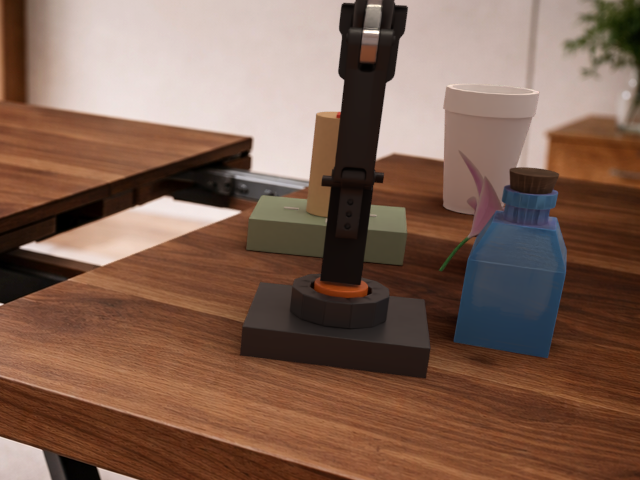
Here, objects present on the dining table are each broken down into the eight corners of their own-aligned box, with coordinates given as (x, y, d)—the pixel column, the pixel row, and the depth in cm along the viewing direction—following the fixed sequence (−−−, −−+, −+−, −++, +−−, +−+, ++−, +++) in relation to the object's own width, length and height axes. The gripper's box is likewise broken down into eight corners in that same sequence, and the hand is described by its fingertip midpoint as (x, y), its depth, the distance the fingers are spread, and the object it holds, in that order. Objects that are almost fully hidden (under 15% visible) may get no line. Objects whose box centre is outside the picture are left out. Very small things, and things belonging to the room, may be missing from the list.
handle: (308, 204, 92) (318, 107, 89) (354, 209, 91) (366, 110, 88) (304, 215, 88) (314, 113, 85) (352, 219, 87) (365, 116, 84)
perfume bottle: (453, 343, 67) (482, 174, 63) (462, 316, 73) (489, 159, 68) (547, 359, 65) (584, 185, 61) (549, 330, 70) (583, 169, 66)
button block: (420, 327, 70) (428, 275, 69) (425, 380, 61) (435, 321, 60) (257, 309, 73) (262, 258, 71) (239, 357, 64) (244, 300, 62)
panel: (400, 237, 94) (405, 205, 93) (402, 265, 85) (407, 231, 84) (259, 224, 97) (261, 193, 96) (246, 250, 88) (248, 216, 87)
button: (365, 301, 67) (368, 278, 66) (364, 318, 64) (367, 293, 63) (314, 296, 68) (316, 272, 67) (310, 312, 65) (313, 288, 64)
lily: (519, 316, 76) (592, 212, 74) (391, 239, 79) (458, 138, 77) (510, 315, 88) (573, 225, 86) (398, 248, 91) (457, 159, 89)
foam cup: (530, 220, 102) (553, 96, 97) (443, 217, 102) (463, 93, 97) (498, 199, 111) (519, 85, 106) (419, 197, 111) (436, 82, 106)
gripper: (461, -107, 50) (398, 317, 58) (447, -91, 62) (396, 259, 70) (316, -110, 51) (275, 303, 60) (329, -94, 63) (293, 249, 72)
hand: (340, 279), depth 65 cm, fingers closed
